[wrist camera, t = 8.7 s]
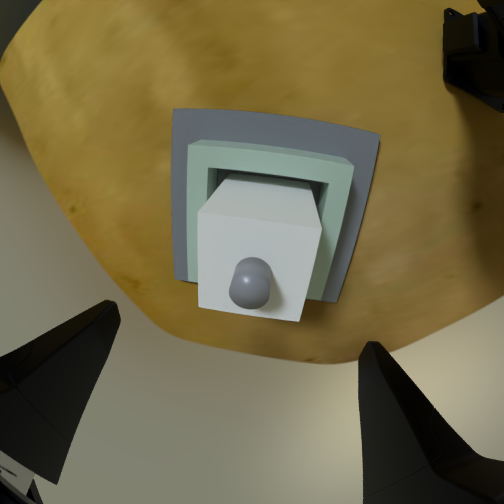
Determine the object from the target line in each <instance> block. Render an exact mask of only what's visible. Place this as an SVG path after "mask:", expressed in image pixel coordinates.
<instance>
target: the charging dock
mask: <svg viewBox="0 0 504 504" xmlns="http://www.w3.org/2000/svg"><path fill="white" fill-rule="evenodd" d="M379 140H380V134H376V133H373V132H369V131H365V130H360V129H356V128H352V127H347V126H343V125H338V124H333V123H328V122H322V121H317V120H311V119H305V118H299V117H292V116H285V115H277V114H268V113H259V112H248V111H235V110H218V109H173V124H172V155H171V206H172V237H173V257H174V273H175V279H177V280H183V281H188V282H194V283H198V248H197V221H198V211H199V210H200V209H201V208H202V206H203V205H204V204H205V203H206V202H207V200H208V199H209V198H210V197H211V195H212V194H213V193H214V192H215V191H216V189H217V188H218V187H219V186H220V185H221V183H222V182H223V181H224V180H225V179H226V177H227V176H228V175H229V174H230V173H236V174H245V175H254V176H262V177H270V178H278V179H285V180H292V181H299V182H306V183H309V184H310V187H311V191H312V194H313V198H314V201H315V205H316V209H317V212H318V216H319V220H320V223H321V227H322V231H321V236H320V240H319V245H318V249H317V253H316V258H315V262H314V266H313V270H312V274H311V278H310V282H309V286H308V290H307V294H306V298H305V299H309V300H317V301H326V302H334V303H336V302H337V299H338V296H339V293H340V290H341V287H342V284H343V281H344V278H345V275H346V272H347V269H348V266H349V263H350V259H351V256H352V253H353V249H354V246H355V242H356V239H357V235H358V232H359V228H360V224H361V221H362V217H363V213H364V209H365V205H366V201H367V197H368V193H369V188H370V184H371V179H372V175H373V170H374V165H375V161H376V156H377V150H378V145H379Z"/></svg>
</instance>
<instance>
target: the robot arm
mask: <svg viewBox="0 0 504 504" xmlns="http://www.w3.org/2000/svg"><path fill="white" fill-rule="evenodd" d="M477 1H478V3H479V4H480V6H481V7H482V8H484V9H485V10H486V12H484V13H480V14H477V13H476V12H473V13H470V14H467V15H462V14H460V13H459V12H457V11H455V10H453V9H451V8H447V9H445V10H444V24H443V52H444V70H443V77H444V80H445V81H446V82H447V83H448V84H450V85H452V86H454V87H456V88H458V89H460V90H462V91H464V92H466V93H468V94H470V95H472V96H474V97H475V98H477V99H479V100H481V101H482V102H484V103H486V104H487V105H489V106H491V107H492V108H494V109H495V110H497V111H499V112H501V113H504V0H477ZM449 12H450V13H451V14H452V16H451V15H450V13H449ZM449 74H450V75H451V77H452V79H451V80H450V78H449ZM501 105H502V108H501ZM120 322H121V318H120V314H119V310H118V306H117V304H116V302H114V301H110V300H104V301H103V302H101V303H99V304H97V305H95V306H93V307H91V308H89V309H88V310H86V311H84V312H82V313H80V314H78V315H77V316H75V317H73V318H71V319H69V320H68V321H66V322H64V323H62V324H60V325H59V326H57V327H55V328H53V329H51V330H50V331H48V332H46V333H44V334H43V335H41V336H39V337H37V338H36V339H34V340H32V341H30V342H28V343H27V344H25V345H23V346H21V347H20V348H18V349H16V350H14V351H12V352H10V353H8V354H6V355H4V356H1V357H0V504H43V502H42V500H41V497H40V495H39V492H38V489H37V487H36V484H35V481H34V479H33V477H34V475H35V474H37V475H39V476H41V477H42V478H44V479H46V480H48V481H50V482H52V483H53V484H56V485H57V483H58V481H59V477H60V474H61V472H62V468H63V465H64V462H65V460H66V457H67V454H68V451H69V448H70V445H71V442H72V440H73V437H74V434H75V432H76V429H77V427H78V424H79V422H80V419H81V417H82V414H83V412H84V410H85V407H86V405H87V402H88V400H89V398H90V395H91V393H92V391H93V389H94V386H95V384H96V382H97V380H98V377H99V375H100V373H101V371H102V369H103V367H104V364H105V362H106V360H107V358H108V355H109V353H110V350H111V347H112V344H113V342H114V339H115V336H116V334H117V331H118V328H119V326H120ZM358 400H359V411H360V422H361V423H360V424H361V439H362V458H363V504H504V461H499V460H494V459H489V458H485V457H483V456H481V455H479V454H478V453H476V452H475V451H474V450H473V449H472V448H471V447H470V446H469V445H468V444H467V443H466V442H465V441H464V440H463V439H462V438H461V437H460V436H459V435H458V434H457V433H456V432H455V430H454V429H453V428H452V427H451V426H450V425H449V424H448V423H447V422H446V421H445V419H444V418H443V417H442V416H441V415H440V414H439V412H438V411H437V410H436V408H434V406H433V405H432V404H431V403H430V401H429V400H428V399H427V398H426V396H425V395H424V394H423V393H422V391H421V390H420V389H419V388H418V387H417V386H416V384H415V383H414V382H413V381H412V380H411V378H410V377H409V376H408V375H407V374H406V373H405V371H404V370H403V369H402V368H401V367H400V365H399V364H398V363H397V362H396V361H395V360H394V358H393V357H392V356H391V355H390V354H389V353H388V351H387V350H386V349H385V348H384V347H383V346H382V345H381V343H379V342H377V341H368V342H367V343H366V345H365V347H364V349H363V350H362V352H361V354H360V356H359V360H358Z"/></svg>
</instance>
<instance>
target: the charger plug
mask: <svg viewBox="0 0 504 504" xmlns="http://www.w3.org/2000/svg"><path fill="white" fill-rule="evenodd" d="M321 231H322V227H321V223H320V220H319V216H318V212H317V209H316V205H315V201H314V198H313V194H312V191H311V187H310V184H309V183H306V182H299V181H292V180H285V179H278V178H270V177H262V176H254V175H245V174H236V173H230V174H229V175H228V176H227V177H226V179H225V180H224V181H223V182H222V183H221V185H220V186H219V187H218V188H217V189H216V191H215V192H214V193H213V194H212V195H211V197H210V198H209V199H208V200H207V202H206V203H205V204H204V205H203V206H202V208H201V209H200V210H199V211H198V221H197V248H198V298H199V307H202V308H208V309H213V310H219V311H226V312H232V313H238V314H245V315H252V316H258V317H266V318H273V319H281V320H289V321H297V322H299V320H300V317H301V313H302V309H303V306H304V302H305V298H306V294H307V290H308V286H309V282H310V278H311V274H312V270H313V266H314V262H315V258H316V253H317V249H318V245H319V240H320V236H321Z"/></svg>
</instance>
